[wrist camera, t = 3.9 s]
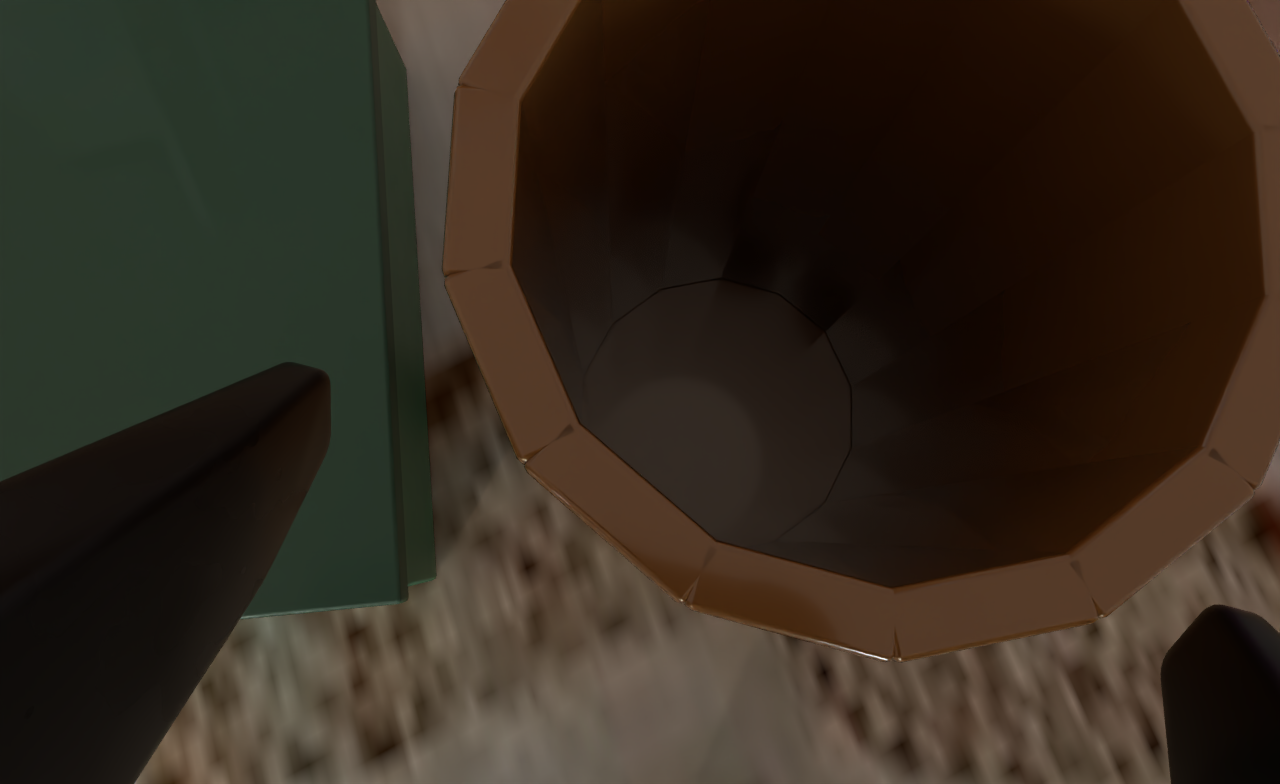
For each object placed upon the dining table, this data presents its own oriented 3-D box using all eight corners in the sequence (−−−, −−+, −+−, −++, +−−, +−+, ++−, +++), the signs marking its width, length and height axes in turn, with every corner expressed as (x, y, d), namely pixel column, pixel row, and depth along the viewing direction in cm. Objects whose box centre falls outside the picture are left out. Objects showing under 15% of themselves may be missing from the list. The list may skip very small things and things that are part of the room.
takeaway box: (448, 588, 18) (401, 604, 14) (-138, 645, 18) (-353, 677, 14) (415, 58, 20) (365, -59, 16) (-121, 98, 20) (-307, -12, 16)
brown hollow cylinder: (736, 642, 18) (982, 870, 6) (492, 430, 19) (249, 230, 6) (932, 402, 19) (1505, 161, 7) (693, 205, 20) (818, -352, 7)
